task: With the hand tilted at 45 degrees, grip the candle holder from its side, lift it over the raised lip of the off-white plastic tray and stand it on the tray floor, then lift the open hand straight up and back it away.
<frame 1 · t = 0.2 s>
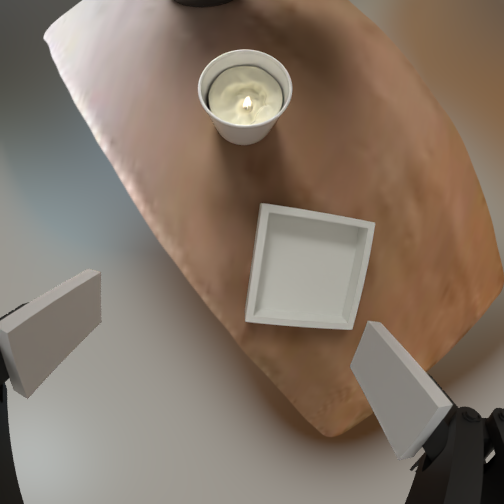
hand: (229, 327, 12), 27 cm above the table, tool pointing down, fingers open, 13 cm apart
lipped tray: (305, 265, 40), on the table
candle holder: (243, 119, 36), on the table
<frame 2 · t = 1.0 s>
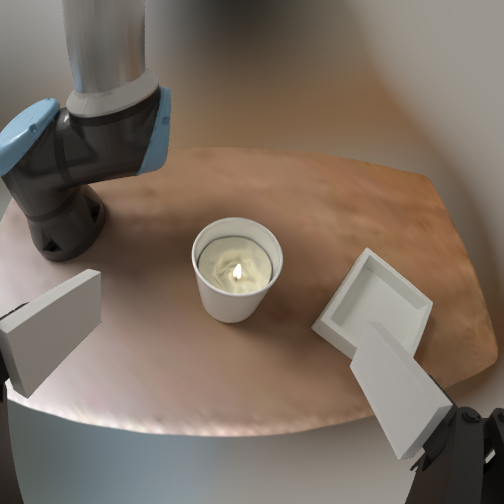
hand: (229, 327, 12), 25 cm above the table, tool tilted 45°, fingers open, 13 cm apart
lipped tray: (373, 319, 40), on the table
candle holder: (229, 296, 39), on the table
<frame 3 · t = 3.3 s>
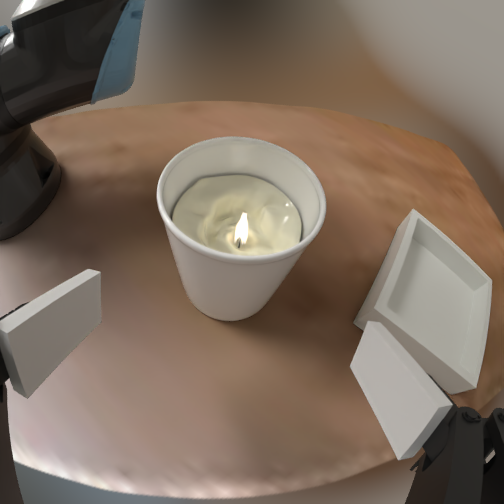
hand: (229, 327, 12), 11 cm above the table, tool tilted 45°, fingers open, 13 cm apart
lipped tray: (428, 306, 27), on the table
candle holder: (228, 280, 25), on the table
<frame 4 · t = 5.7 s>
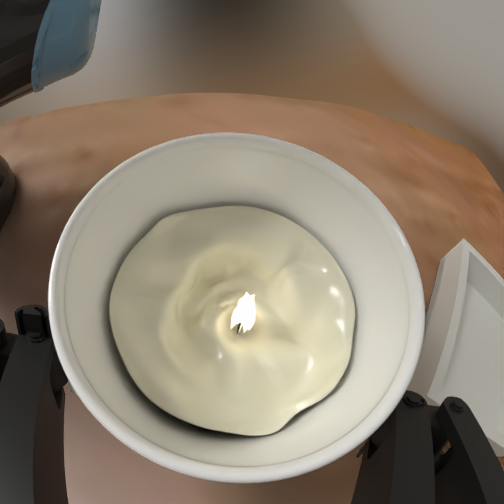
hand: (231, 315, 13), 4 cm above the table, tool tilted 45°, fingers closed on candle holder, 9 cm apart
lipped tray: (473, 361, 18), on the table
candle holder: (222, 355, 16), on the table, touching gripper
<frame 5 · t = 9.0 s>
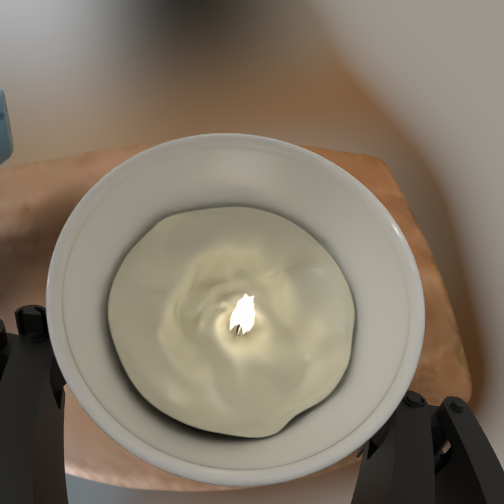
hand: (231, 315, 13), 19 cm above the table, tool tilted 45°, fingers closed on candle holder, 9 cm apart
candle holder: (221, 356, 16), point 14 cm above the table, touching gripper
when the fingers open (6 cm above the table, at t = 12.7 s): candle holder stays where it is, resting on lipped tray.
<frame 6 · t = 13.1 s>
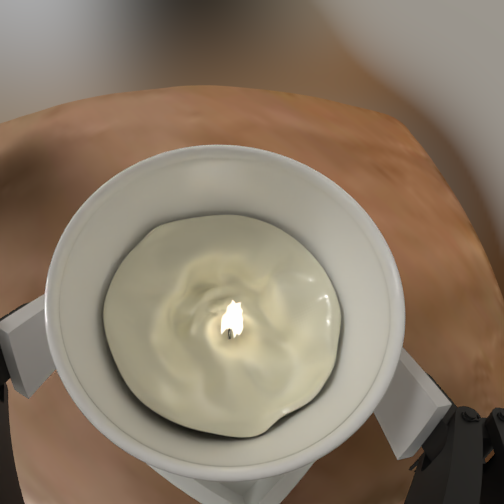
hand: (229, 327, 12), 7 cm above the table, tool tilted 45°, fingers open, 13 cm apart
lipped tray: (221, 359, 17), on the table
candle holder: (217, 358, 17), point 1 cm above the table, touching lipped tray
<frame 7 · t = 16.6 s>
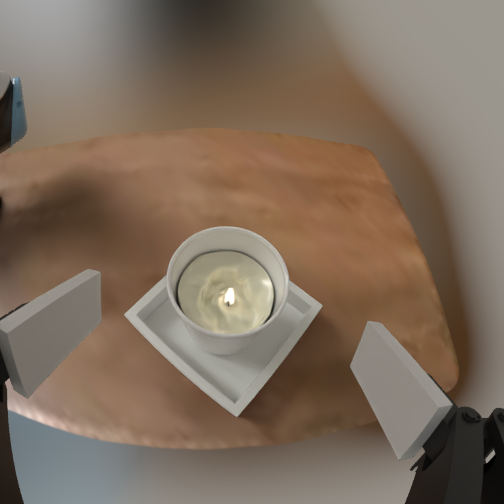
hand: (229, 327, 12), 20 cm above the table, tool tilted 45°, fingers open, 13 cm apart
lipped tray: (223, 323, 32), on the table
candle holder: (221, 322, 32), point 1 cm above the table, touching lipped tray
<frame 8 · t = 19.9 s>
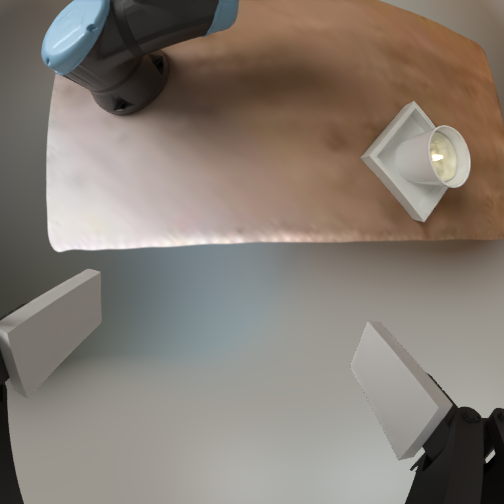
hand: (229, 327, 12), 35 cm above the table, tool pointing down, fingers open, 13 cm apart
lipped tray: (410, 161, 43), on the table
candle holder: (411, 161, 43), point 1 cm above the table, touching lipped tray
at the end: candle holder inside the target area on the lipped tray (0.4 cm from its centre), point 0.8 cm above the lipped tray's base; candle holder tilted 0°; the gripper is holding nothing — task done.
